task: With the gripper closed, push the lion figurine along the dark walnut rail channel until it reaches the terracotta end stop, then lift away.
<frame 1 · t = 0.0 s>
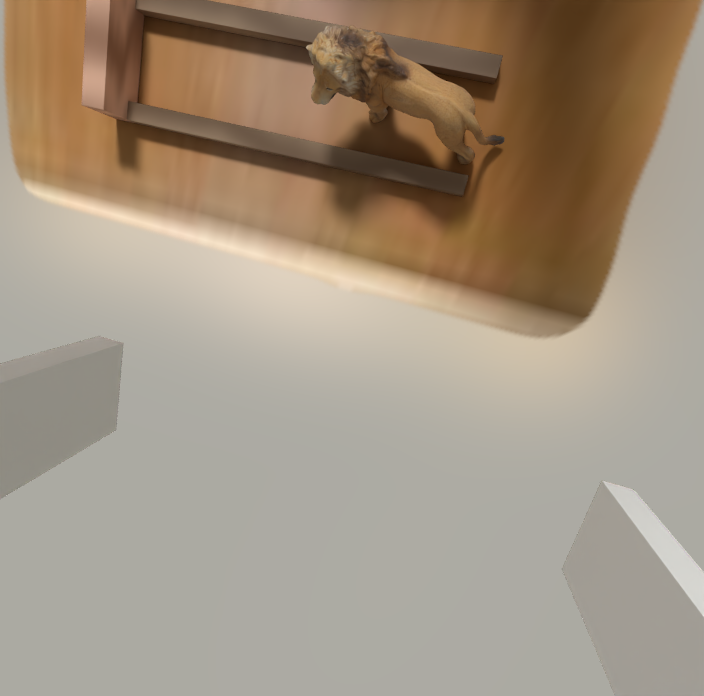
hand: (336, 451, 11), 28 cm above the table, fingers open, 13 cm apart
track: (302, 95, 35), on the table
lion figurine: (408, 118, 35), on the table
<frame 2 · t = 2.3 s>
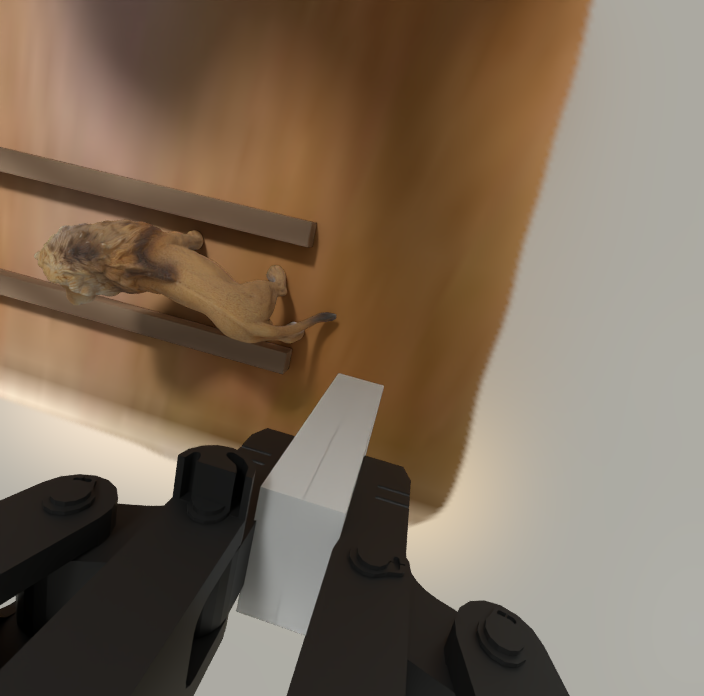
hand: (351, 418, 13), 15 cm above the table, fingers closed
track: (99, 246, 30), on the table
lion figurine: (229, 282, 29), on the table
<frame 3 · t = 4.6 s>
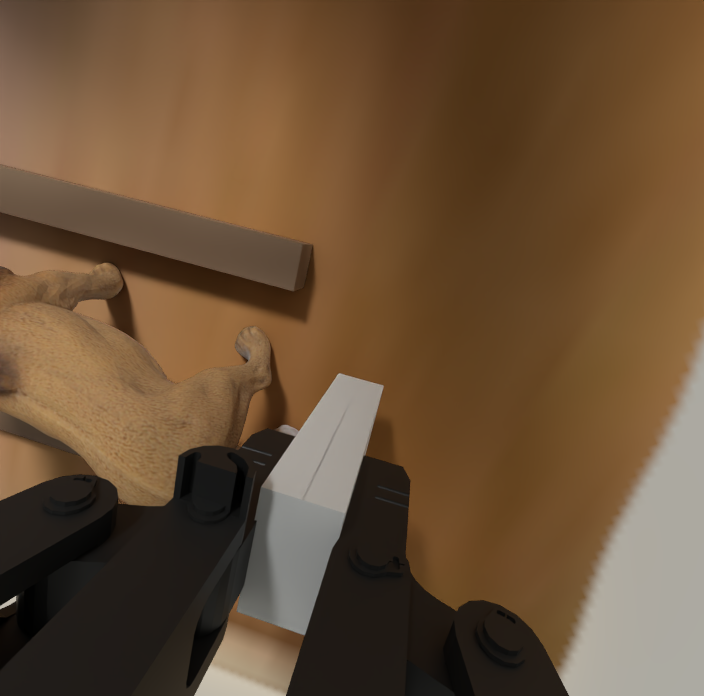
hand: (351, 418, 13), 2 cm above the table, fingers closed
lion figurine: (172, 353, 16), on the table, touching gripper
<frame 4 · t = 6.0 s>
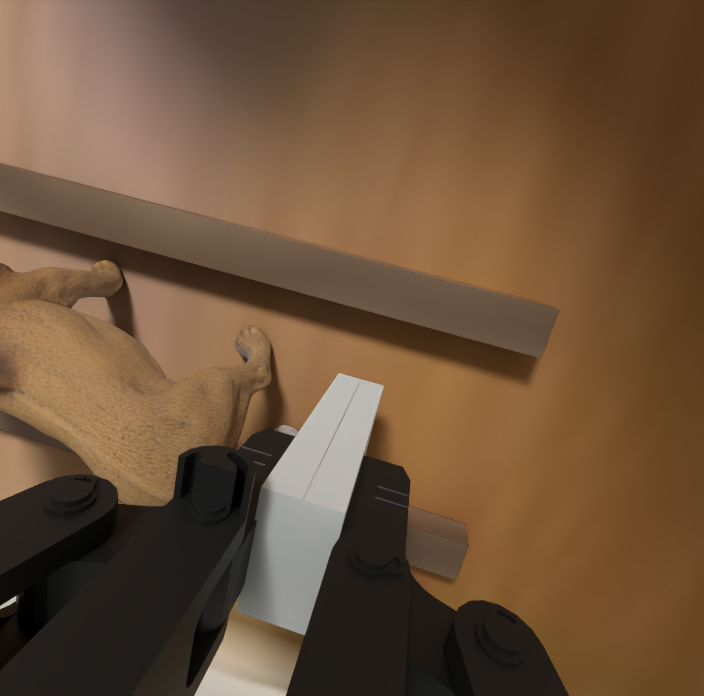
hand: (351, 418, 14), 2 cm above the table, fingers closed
track: (111, 328, 16), on the table
lion figurine: (172, 352, 16), on the table, touching gripper
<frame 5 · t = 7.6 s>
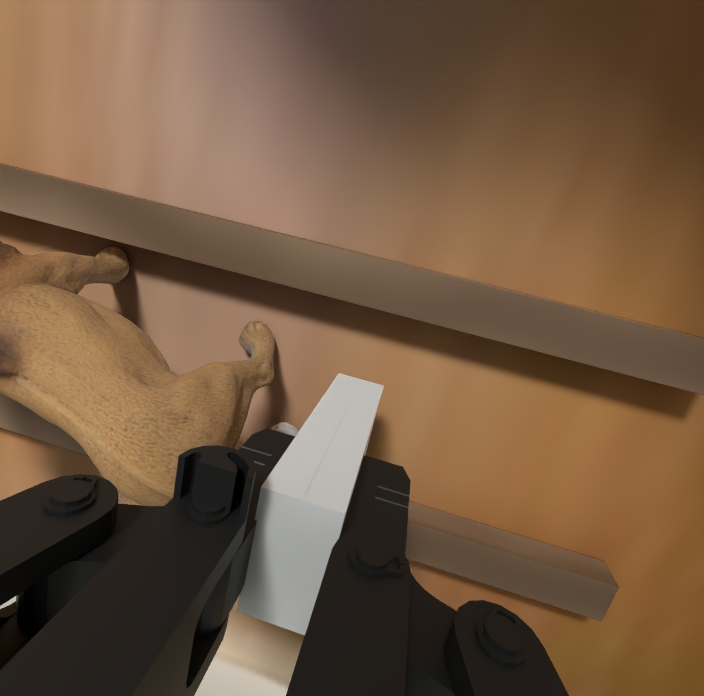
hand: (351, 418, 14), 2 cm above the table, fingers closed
track: (232, 361, 16), on the table
lion figurine: (175, 342, 16), on the table, touching gripper
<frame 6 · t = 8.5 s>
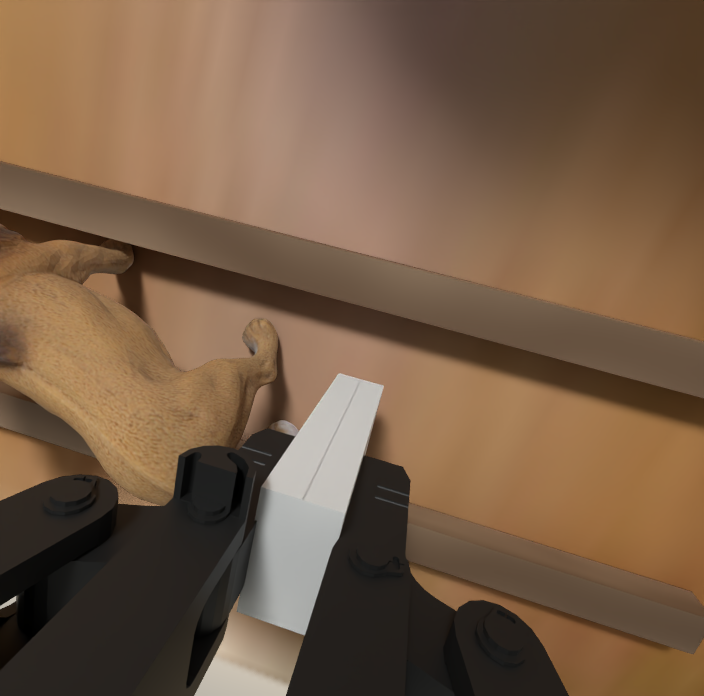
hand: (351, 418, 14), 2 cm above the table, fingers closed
track: (310, 384, 15), on the table
lion figurine: (176, 335, 16), on the table, touching gripper, track
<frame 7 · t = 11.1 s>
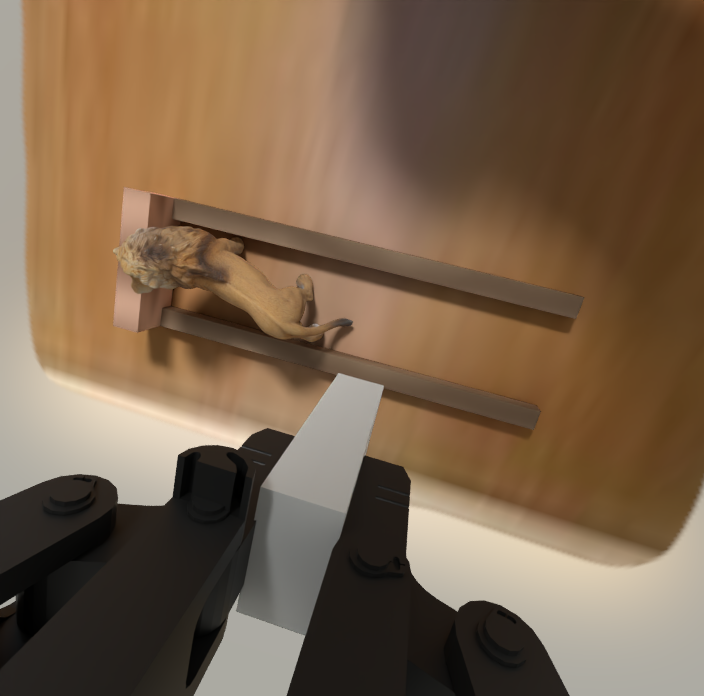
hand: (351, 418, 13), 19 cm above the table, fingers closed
track: (355, 310, 32), on the table
lion figurine: (262, 284, 33), on the table
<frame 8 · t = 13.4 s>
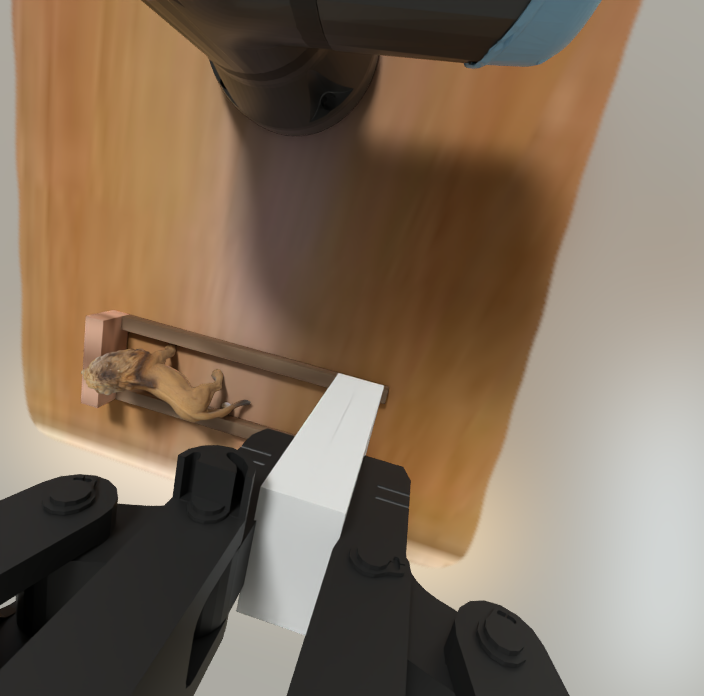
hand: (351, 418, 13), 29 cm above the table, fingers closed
track: (247, 391, 47), on the table
lion figurine: (190, 374, 48), on the table
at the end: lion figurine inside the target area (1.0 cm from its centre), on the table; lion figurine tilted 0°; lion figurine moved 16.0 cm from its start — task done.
